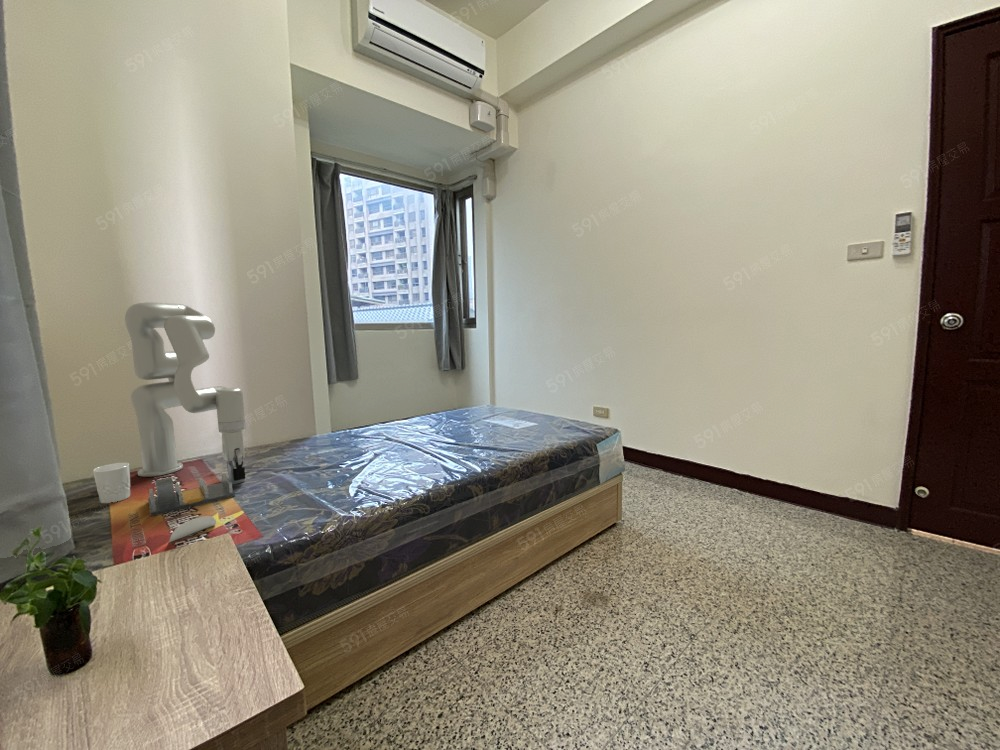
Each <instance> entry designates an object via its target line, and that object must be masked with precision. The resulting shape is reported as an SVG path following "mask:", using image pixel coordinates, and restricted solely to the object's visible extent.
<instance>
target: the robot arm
mask: <svg viewBox="0 0 1000 750" xmlns="http://www.w3.org/2000/svg"><path fill="white" fill-rule="evenodd" d="M124 323H125V328H126V329H127V332H128V335H129V337H130V342H131V350H132V353H131V354H132V362H133V369H134V373H135V376H136V377H137V378H138V379H140V380H144V381H151V380H154V381H155V380H162V379H163V380H164V379H168V381H163V382H161V381H160V382H152V383H146V384H143V385H139V386H137V387H135V388H134V389H133V390H132V392H131V394H130V399H131V400H130V401H131V404H132V407H133V409H134V412H135V415H136V420H137V428H138V437H139V443H140V454H141V462H142V468H140V469H139V470H137V476H139V477H145V478H146V477H159V476H164V475H168V474H172V473H175V472H178V471H180V470H182V469H183V467H184V465H183V463H182V462H180V461H179V462H178V458H177V457H178V455H177V449H176V448H177V447H176V440H175V429H174V421H173V419H172V417H171V416H170V415H169V414H168V412H166V411H165V410H166V409H171V408H176V407H177V408H178V407H181V406H182V408H183V409H184V410H185V411H187V412H188V413H190V414H198V413H199V414H200V413H204V412H209V411H213V410H214V411H215V410H216V417H217V426H218V433H221V444H222V447H221V448H222V457H223V459H224V460H225V462H226V463H227V462H228V463H230V462H233V467H234V469H233V477H234V481H237V480H241V479H245V480H246V470H245V469H246V468H245V464H244V459H245V458H246V457H245V442H244V436H243V435H244V434H243V431H244V430H246V416H245V406H244V394H243V391H242V389H241V388H238V387H226V386H212V387H204V388H198V389H196V388H195V386H194V384H193V381H192V372H193V370H194V368H196V367H198V366H200V365H203V364H204V363H206V362H207V361H208V360H209V358H210V354H209V352H208V350H207V347H206V345H205V342H204V341H203V340H210V339H212V338H213V337H214V336H215V332H216V328H215V325H214V324H215V323H214V322H213V321H212V320H211V319H210V318H209V317H208V316H206V314H204V313H201V312H200V311H198V310H196V309H194V308H192V307H191V306H188V305H185V304H181V303H167V302H165V303H164V302H137V303H133V304H132V305H130V306H129V307H128V308H127V309H126V312H125V314H124ZM157 328H158V329H164V331H165V333H166V336H167V337H168V340H169V343H170V344H171V345H170V346H171V347H172V350H173V351H172V350H171V351H170V350H169V351H165V343H164V338H163V337H162V335H161V334H160V333H159V332H158V331H157V330H156V329H157ZM235 462H236V464H235ZM226 466H227V469H228V465H227V464H226Z"/></svg>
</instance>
